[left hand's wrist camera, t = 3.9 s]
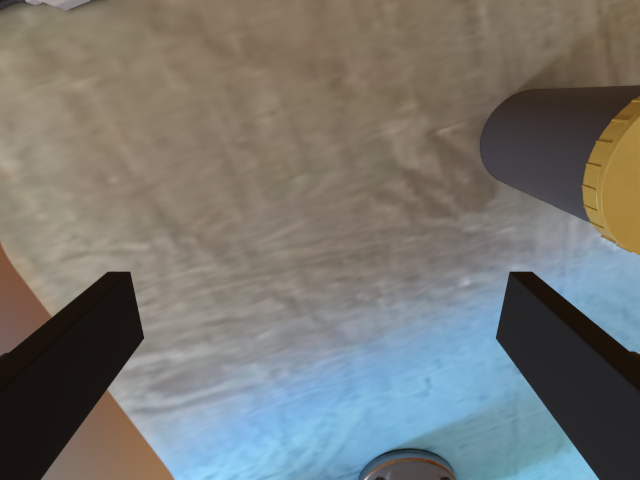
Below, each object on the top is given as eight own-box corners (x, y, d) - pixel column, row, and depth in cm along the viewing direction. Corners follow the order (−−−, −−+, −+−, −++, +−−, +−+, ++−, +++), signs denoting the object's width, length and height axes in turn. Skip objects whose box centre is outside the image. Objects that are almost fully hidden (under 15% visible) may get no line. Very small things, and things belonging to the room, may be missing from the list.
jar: (460, 154, 38) (570, 198, 22) (525, 69, 36) (708, 43, 19) (528, 201, 40) (677, 275, 24) (594, 123, 37) (819, 145, 21)
